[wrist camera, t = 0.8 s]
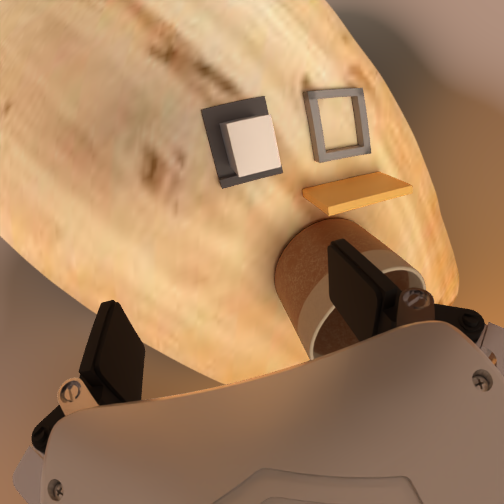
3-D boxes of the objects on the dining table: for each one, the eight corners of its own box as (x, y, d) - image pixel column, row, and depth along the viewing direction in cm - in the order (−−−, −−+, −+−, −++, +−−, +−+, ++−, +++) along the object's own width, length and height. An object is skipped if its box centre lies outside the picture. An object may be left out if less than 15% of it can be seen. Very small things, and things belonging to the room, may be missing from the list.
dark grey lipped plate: (201, 110, 26) (201, 109, 24) (263, 96, 26) (267, 95, 25) (220, 185, 30) (222, 188, 29) (278, 170, 31) (282, 172, 30)
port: (284, 94, 27) (310, 89, 21) (369, 88, 28) (405, 87, 22) (303, 196, 33) (328, 216, 27) (379, 178, 34) (412, 193, 28)
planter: (356, 196, 35) (425, 239, 23) (375, 277, 43) (424, 329, 31) (254, 252, 35) (288, 324, 23) (295, 325, 43) (328, 390, 31)
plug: (219, 123, 27) (226, 124, 21) (255, 115, 27) (270, 114, 22) (229, 166, 29) (239, 177, 24) (264, 157, 29) (281, 166, 24)
